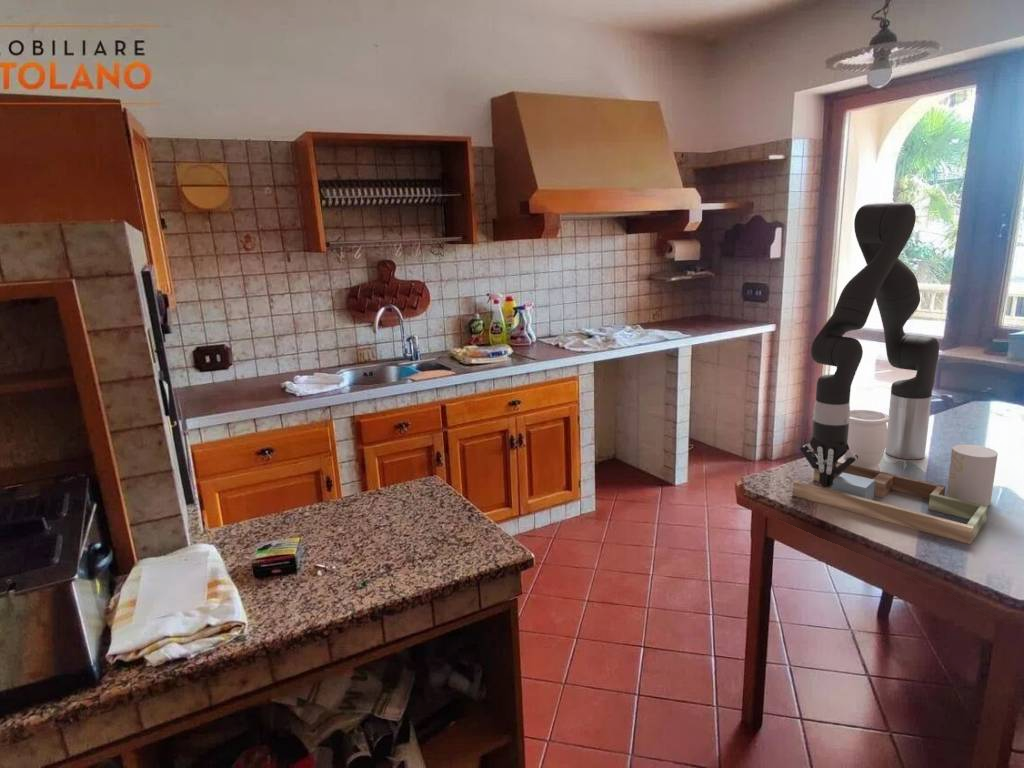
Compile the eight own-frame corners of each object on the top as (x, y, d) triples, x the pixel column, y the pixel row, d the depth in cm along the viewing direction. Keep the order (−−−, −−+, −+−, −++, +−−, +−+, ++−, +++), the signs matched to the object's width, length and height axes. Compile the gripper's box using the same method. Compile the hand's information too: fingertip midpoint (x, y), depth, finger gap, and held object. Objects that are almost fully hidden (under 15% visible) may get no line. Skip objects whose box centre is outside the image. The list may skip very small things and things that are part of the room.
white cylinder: (947, 489, 142) (953, 442, 139) (991, 496, 137) (998, 448, 134) (944, 501, 136) (950, 453, 133) (990, 510, 131) (997, 459, 128)
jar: (877, 462, 160) (882, 409, 157) (889, 477, 151) (895, 421, 147) (834, 460, 163) (837, 408, 159) (843, 475, 153) (847, 420, 150)
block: (841, 491, 145) (843, 472, 143) (873, 499, 139) (875, 479, 138) (831, 499, 141) (833, 480, 140) (863, 508, 136) (865, 488, 134)
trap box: (825, 471, 156) (825, 459, 155) (992, 511, 130) (994, 496, 130) (792, 495, 144) (793, 482, 143) (970, 544, 118) (972, 528, 117)
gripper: (867, 420, 137) (861, 489, 142) (809, 410, 147) (805, 475, 151) (855, 428, 133) (848, 499, 137) (795, 417, 143) (791, 484, 147)
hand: (825, 486), depth 144 cm, fingers closed
